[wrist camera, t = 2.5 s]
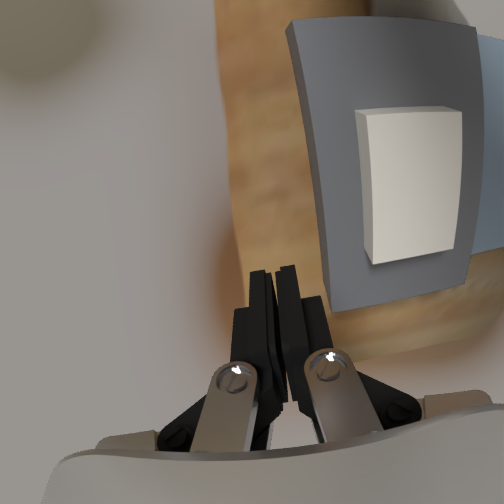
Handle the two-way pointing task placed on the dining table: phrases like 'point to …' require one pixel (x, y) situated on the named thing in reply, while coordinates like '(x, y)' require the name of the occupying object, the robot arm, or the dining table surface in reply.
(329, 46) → the panel
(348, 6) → the dining table surface
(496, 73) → the mat
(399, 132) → the tile
